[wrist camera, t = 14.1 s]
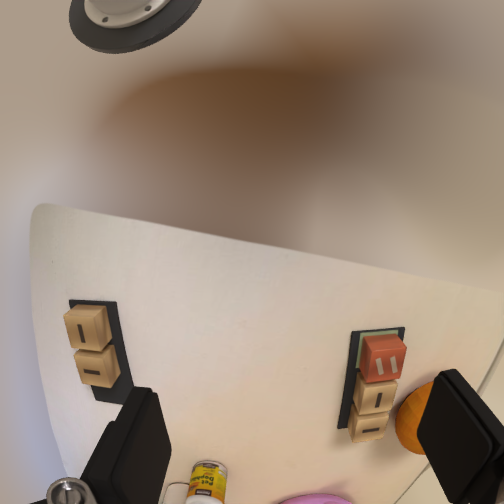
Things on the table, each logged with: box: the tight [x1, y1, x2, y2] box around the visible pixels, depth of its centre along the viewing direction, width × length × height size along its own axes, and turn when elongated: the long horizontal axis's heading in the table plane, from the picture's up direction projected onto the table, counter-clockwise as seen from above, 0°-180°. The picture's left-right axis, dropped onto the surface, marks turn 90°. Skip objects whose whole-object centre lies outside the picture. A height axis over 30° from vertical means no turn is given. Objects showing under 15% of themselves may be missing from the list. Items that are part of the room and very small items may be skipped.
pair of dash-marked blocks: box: [347, 372, 398, 443], centre depth 36 cm, size 10×4×4 cm, turn 1°
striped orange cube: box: [359, 333, 407, 383], centre depth 34 cm, size 4×4×4 cm
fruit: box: [395, 381, 434, 455], centre depth 34 cm, size 12×12×10 cm
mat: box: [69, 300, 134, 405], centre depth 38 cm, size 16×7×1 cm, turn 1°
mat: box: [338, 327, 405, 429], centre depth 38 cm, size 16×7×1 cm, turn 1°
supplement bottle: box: [186, 461, 227, 504], centre depth 38 cm, size 6×6×10 cm
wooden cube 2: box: [74, 344, 121, 388], centre depth 36 cm, size 4×4×4 cm
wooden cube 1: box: [63, 304, 112, 351], centre depth 35 cm, size 4×4×4 cm
